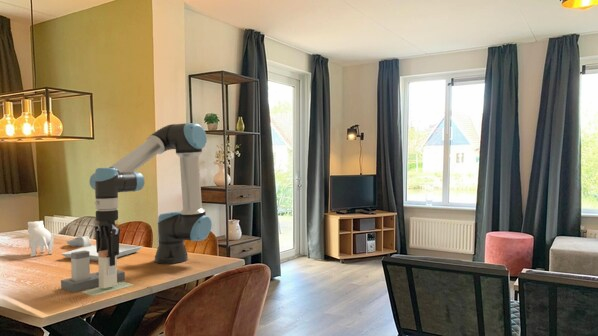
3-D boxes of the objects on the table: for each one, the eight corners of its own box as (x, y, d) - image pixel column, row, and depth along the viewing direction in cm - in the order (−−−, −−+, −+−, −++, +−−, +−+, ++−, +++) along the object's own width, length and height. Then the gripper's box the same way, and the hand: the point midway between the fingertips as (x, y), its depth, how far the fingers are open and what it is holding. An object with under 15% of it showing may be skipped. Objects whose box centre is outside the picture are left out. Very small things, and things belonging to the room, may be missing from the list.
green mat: (122, 284, 165) (122, 281, 165) (134, 287, 161) (134, 284, 161) (80, 294, 152) (80, 291, 152) (92, 298, 148) (92, 295, 148)
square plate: (105, 264, 200) (105, 256, 200) (59, 260, 208) (59, 252, 208) (143, 252, 225) (143, 245, 225) (101, 249, 234) (101, 242, 234)
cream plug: (111, 283, 159) (111, 248, 159) (117, 285, 157) (116, 249, 157) (98, 286, 155) (98, 251, 155) (104, 288, 153) (103, 252, 153)
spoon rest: (63, 246, 244) (63, 233, 244) (85, 243, 252) (85, 231, 252) (77, 252, 227) (76, 238, 227) (100, 248, 235) (99, 235, 235)
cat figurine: (60, 256, 216) (59, 223, 216) (36, 259, 208) (35, 225, 208) (44, 249, 233) (43, 219, 233) (22, 252, 226) (21, 221, 225)
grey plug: (85, 284, 161) (84, 250, 161) (89, 286, 159) (89, 251, 159) (71, 287, 157) (71, 252, 157) (76, 289, 155) (75, 253, 155)
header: (112, 278, 173) (112, 268, 173) (125, 282, 168) (124, 272, 168) (61, 291, 157) (60, 280, 157) (73, 295, 152) (72, 284, 152)
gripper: (85, 209, 158) (86, 272, 158) (109, 212, 148) (110, 279, 148) (104, 207, 164) (105, 268, 164) (129, 210, 154) (130, 274, 155)
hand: (107, 273), depth 156 cm, fingers closed on cream plug, 3 cm apart
